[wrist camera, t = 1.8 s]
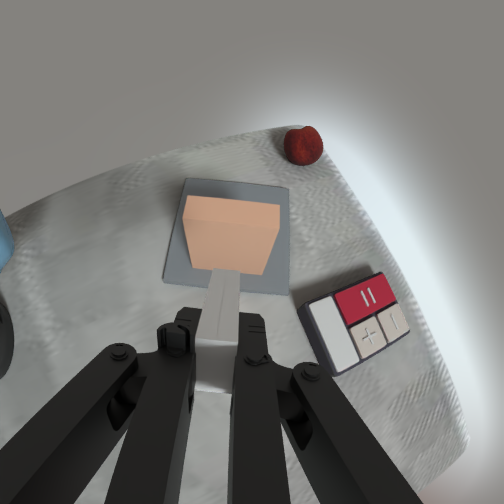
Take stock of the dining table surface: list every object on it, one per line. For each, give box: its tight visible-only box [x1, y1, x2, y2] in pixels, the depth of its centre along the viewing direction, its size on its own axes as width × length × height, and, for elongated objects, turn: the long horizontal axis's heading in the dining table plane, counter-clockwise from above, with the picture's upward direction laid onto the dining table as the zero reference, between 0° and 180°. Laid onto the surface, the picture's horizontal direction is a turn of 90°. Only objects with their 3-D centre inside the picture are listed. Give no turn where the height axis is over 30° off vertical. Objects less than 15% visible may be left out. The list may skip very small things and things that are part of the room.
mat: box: [163, 178, 290, 296], centre depth 43 cm, size 18×19×1 cm
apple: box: [284, 126, 323, 166], centre depth 49 cm, size 7×8×8 cm
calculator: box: [297, 272, 410, 377], centre depth 38 cm, size 11×4×15 cm
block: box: [182, 195, 280, 275], centre depth 35 cm, size 10×3×13 cm, turn 86°
